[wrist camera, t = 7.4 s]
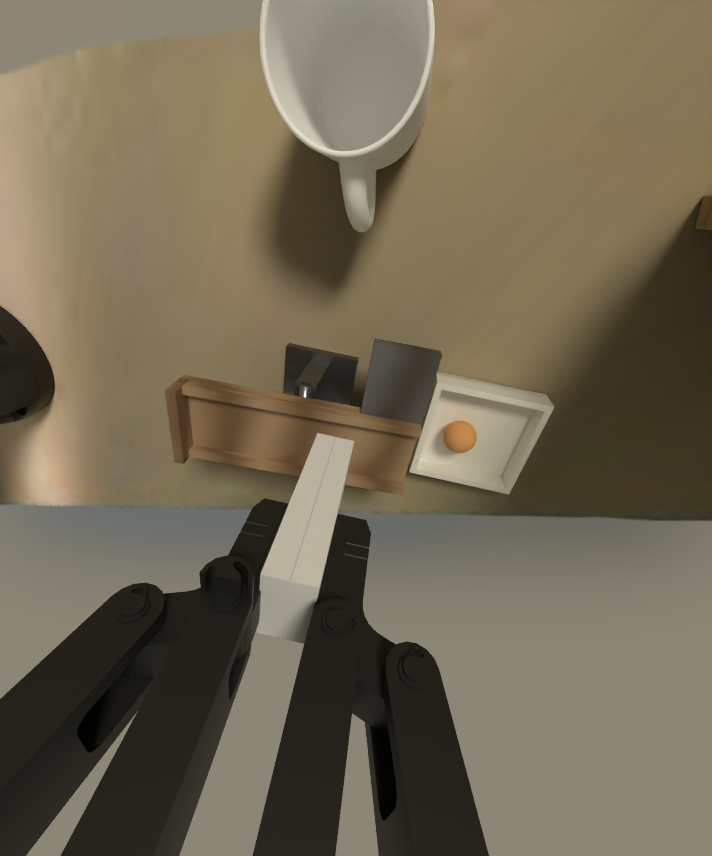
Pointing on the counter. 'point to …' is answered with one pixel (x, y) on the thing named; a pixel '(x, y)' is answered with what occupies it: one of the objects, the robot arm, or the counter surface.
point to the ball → (459, 436)
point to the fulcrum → (319, 374)
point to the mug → (350, 83)
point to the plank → (309, 420)
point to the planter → (705, 214)
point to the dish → (480, 432)
